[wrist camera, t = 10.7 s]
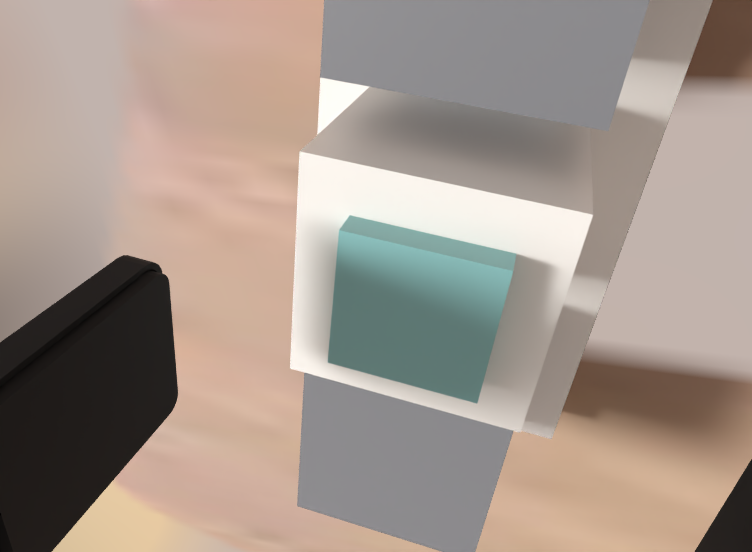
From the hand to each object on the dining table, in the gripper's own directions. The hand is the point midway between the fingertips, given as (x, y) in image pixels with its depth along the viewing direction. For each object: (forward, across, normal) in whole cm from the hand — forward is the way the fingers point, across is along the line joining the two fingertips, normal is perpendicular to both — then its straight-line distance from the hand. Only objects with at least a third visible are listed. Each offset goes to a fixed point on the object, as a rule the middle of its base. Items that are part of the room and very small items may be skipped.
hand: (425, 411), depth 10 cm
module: (+8, +1, 0) cm, 8 cm away
